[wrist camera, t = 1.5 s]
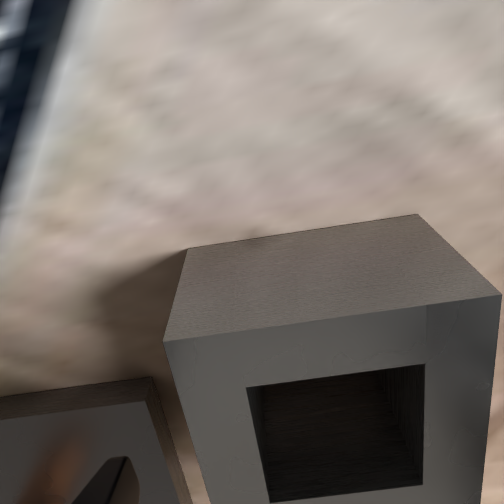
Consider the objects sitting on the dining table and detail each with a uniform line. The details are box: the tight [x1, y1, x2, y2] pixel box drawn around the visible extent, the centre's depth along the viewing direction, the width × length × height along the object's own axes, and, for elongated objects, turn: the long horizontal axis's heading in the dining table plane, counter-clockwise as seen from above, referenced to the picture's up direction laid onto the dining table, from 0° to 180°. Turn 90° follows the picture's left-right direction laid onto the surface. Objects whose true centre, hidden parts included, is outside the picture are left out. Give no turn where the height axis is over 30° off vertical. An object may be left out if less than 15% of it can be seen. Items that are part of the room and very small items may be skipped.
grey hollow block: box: [163, 214, 502, 504], centre depth 11 cm, size 6×6×4 cm
